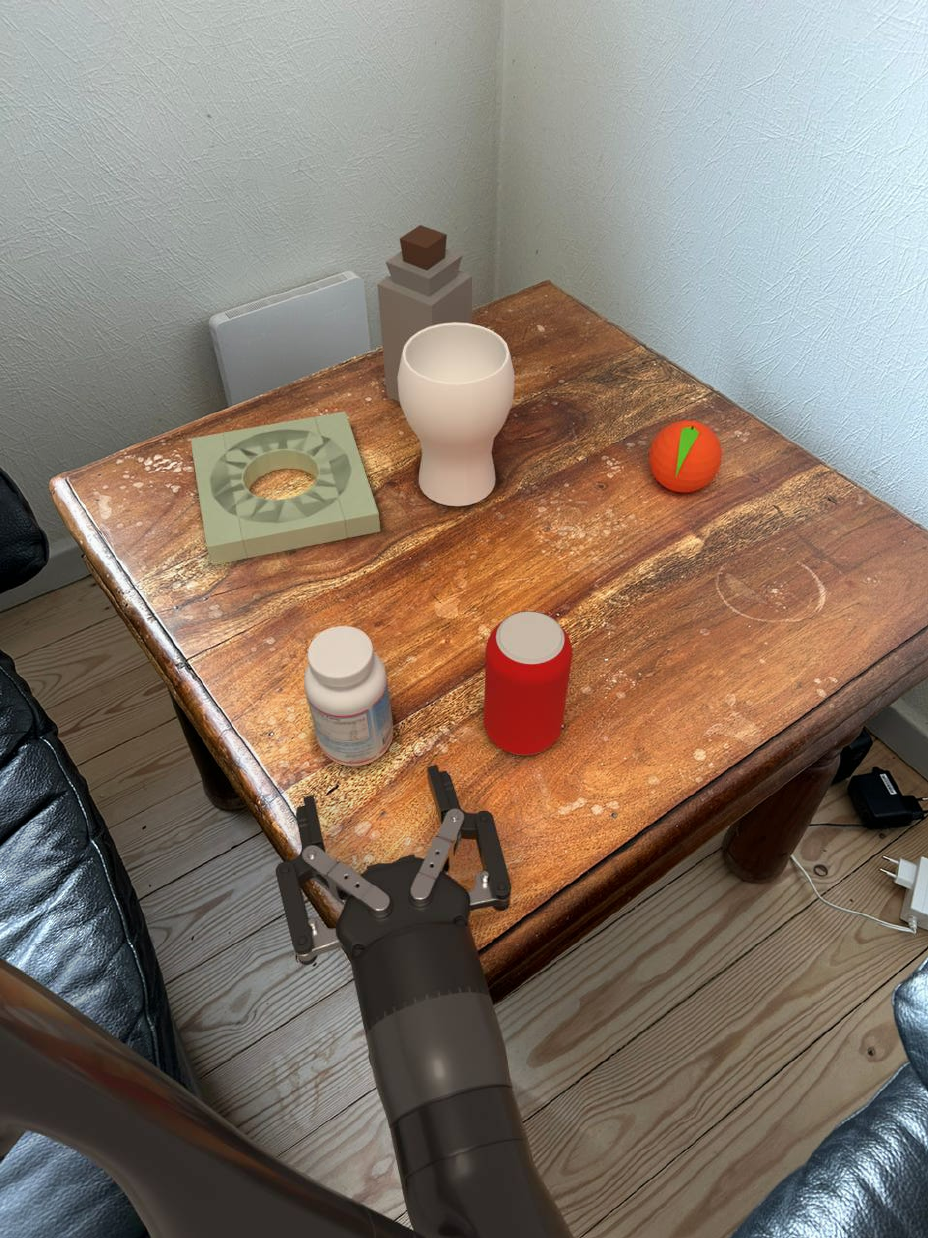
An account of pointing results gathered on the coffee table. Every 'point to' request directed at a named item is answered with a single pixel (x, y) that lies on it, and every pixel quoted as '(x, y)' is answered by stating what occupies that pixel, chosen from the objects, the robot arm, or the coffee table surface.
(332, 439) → the hole plate
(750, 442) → the coffee table surface
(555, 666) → the beverage can
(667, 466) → the clementine
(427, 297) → the perfume bottle
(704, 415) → the coffee table surface
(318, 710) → the pill bottle
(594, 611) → the coffee table surface
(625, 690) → the coffee table surface
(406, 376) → the cup
